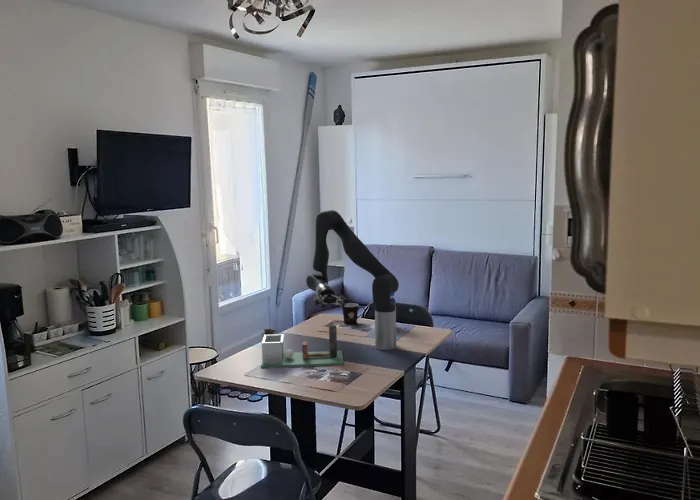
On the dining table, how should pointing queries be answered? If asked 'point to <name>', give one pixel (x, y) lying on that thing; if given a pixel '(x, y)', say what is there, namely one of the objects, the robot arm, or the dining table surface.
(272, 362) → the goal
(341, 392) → the dining table surface
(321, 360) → the board
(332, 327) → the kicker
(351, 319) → the coffee mug
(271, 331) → the lighter
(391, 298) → the beverage bottle
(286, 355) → the ball
